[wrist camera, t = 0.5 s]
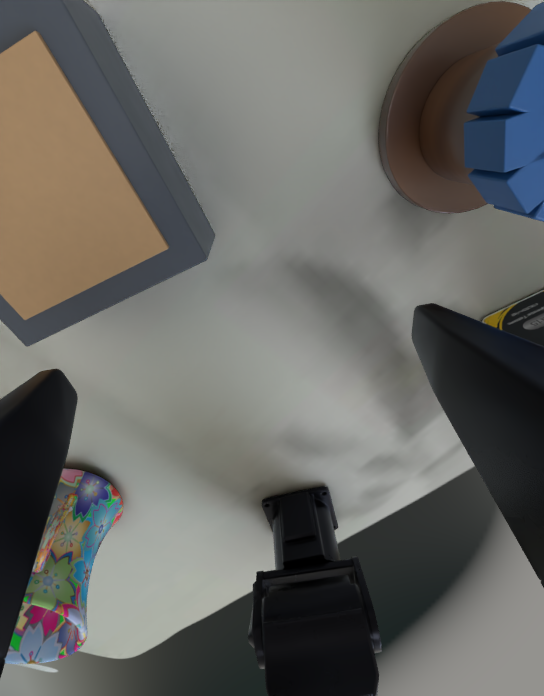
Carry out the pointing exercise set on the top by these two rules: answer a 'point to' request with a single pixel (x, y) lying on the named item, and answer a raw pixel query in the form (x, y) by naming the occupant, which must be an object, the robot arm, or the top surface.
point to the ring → (510, 123)
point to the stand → (440, 107)
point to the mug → (64, 569)
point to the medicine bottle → (522, 318)
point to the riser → (81, 175)
